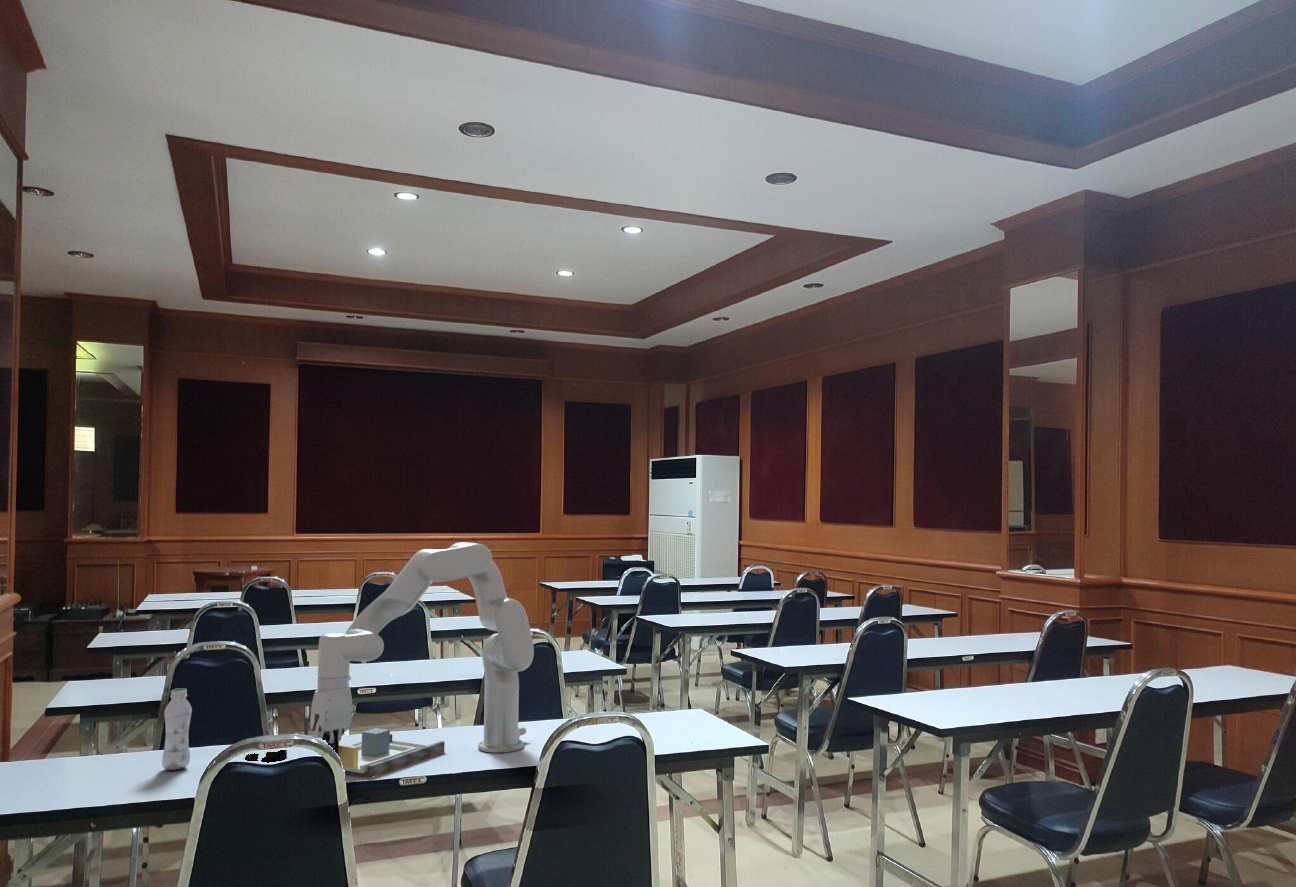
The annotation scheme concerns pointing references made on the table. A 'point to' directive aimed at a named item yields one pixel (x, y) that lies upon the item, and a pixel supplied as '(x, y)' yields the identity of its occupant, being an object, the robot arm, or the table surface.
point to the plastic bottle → (177, 731)
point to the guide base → (401, 758)
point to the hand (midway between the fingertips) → (331, 757)
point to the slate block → (375, 742)
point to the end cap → (269, 756)
